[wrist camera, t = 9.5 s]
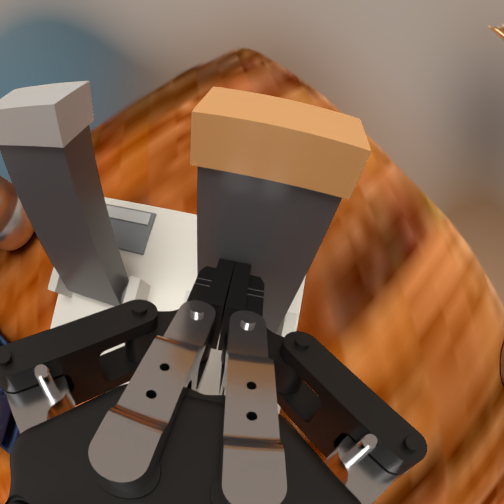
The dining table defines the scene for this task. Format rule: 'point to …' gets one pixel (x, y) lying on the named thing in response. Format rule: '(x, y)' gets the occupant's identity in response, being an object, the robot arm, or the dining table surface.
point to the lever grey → (62, 185)
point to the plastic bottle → (12, 219)
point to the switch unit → (155, 272)
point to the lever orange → (270, 185)
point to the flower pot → (6, 419)
